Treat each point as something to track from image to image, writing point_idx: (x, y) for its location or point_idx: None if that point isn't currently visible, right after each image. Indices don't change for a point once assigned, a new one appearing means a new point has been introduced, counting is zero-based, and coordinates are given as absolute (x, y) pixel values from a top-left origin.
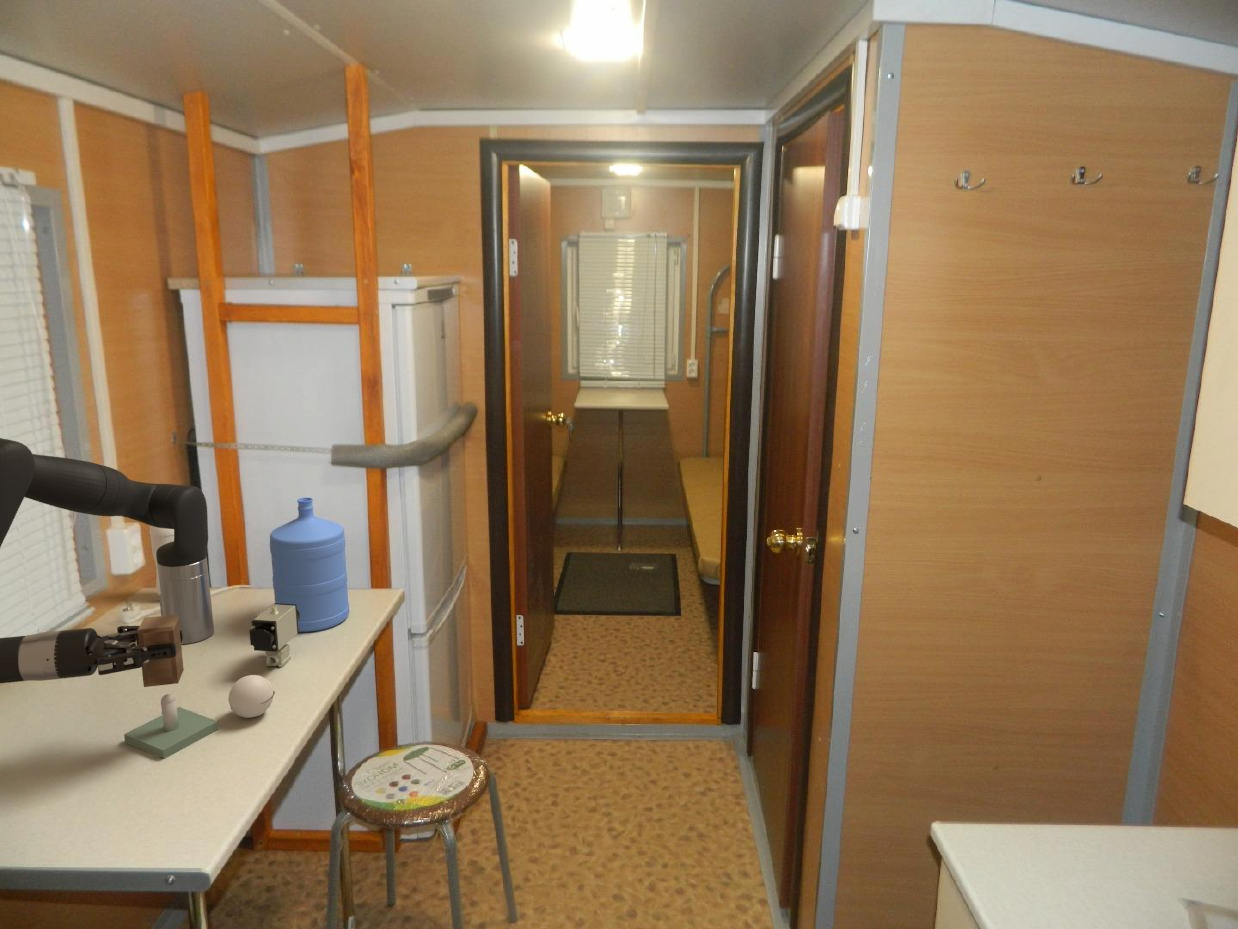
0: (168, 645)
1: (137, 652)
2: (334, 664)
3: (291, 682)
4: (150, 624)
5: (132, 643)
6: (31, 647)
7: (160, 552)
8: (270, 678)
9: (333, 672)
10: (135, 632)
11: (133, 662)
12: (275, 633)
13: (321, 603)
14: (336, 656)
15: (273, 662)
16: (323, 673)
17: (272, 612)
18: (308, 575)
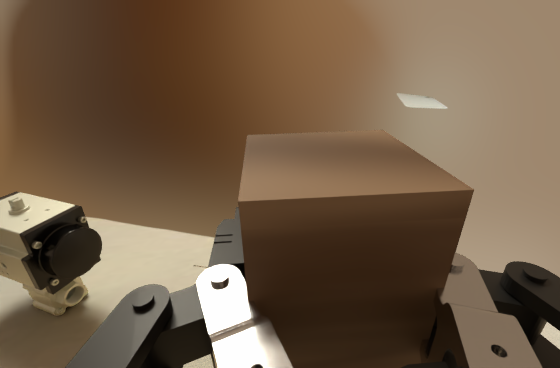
0: None
1: (538, 269)
2: (137, 237)
3: (160, 275)
4: (370, 166)
5: (464, 307)
6: None
7: None
8: (195, 265)
9: (162, 236)
10: (267, 338)
11: (540, 333)
12: (88, 227)
13: None
14: (112, 236)
15: (68, 299)
16: (157, 245)
17: (22, 209)
18: None
